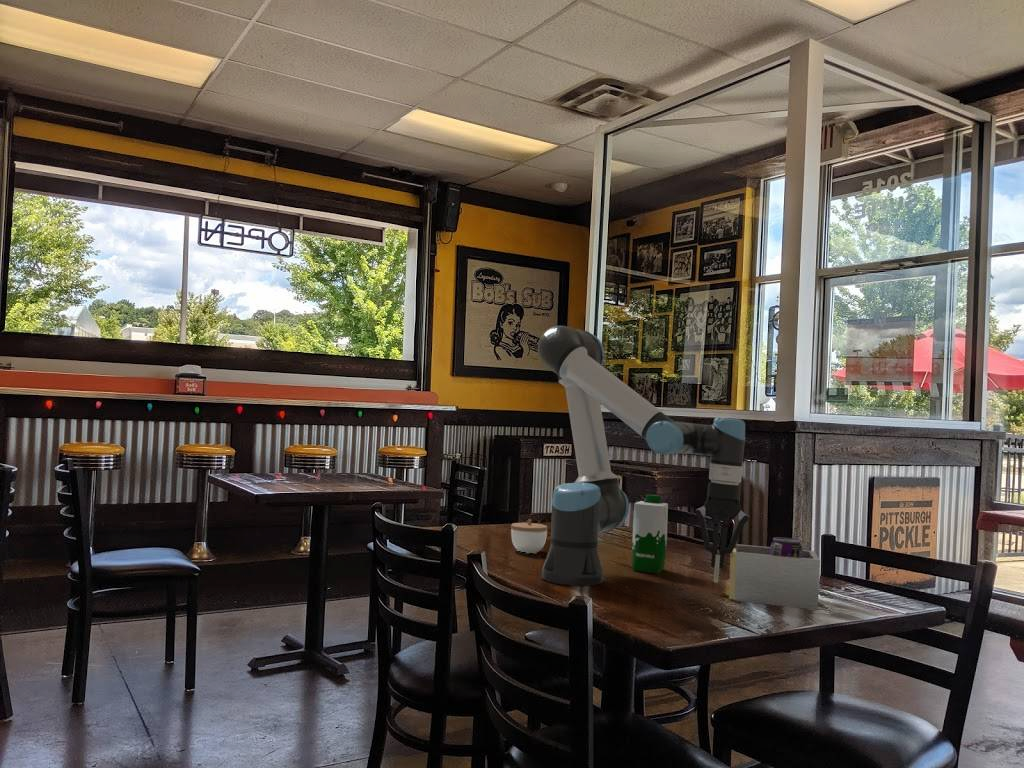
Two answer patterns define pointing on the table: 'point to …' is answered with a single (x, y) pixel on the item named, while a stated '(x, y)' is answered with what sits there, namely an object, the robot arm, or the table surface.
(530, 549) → the lidded jar
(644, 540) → the milk carton
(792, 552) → the beverage can
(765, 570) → the grey open box
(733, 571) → the rack
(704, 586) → the table surface
